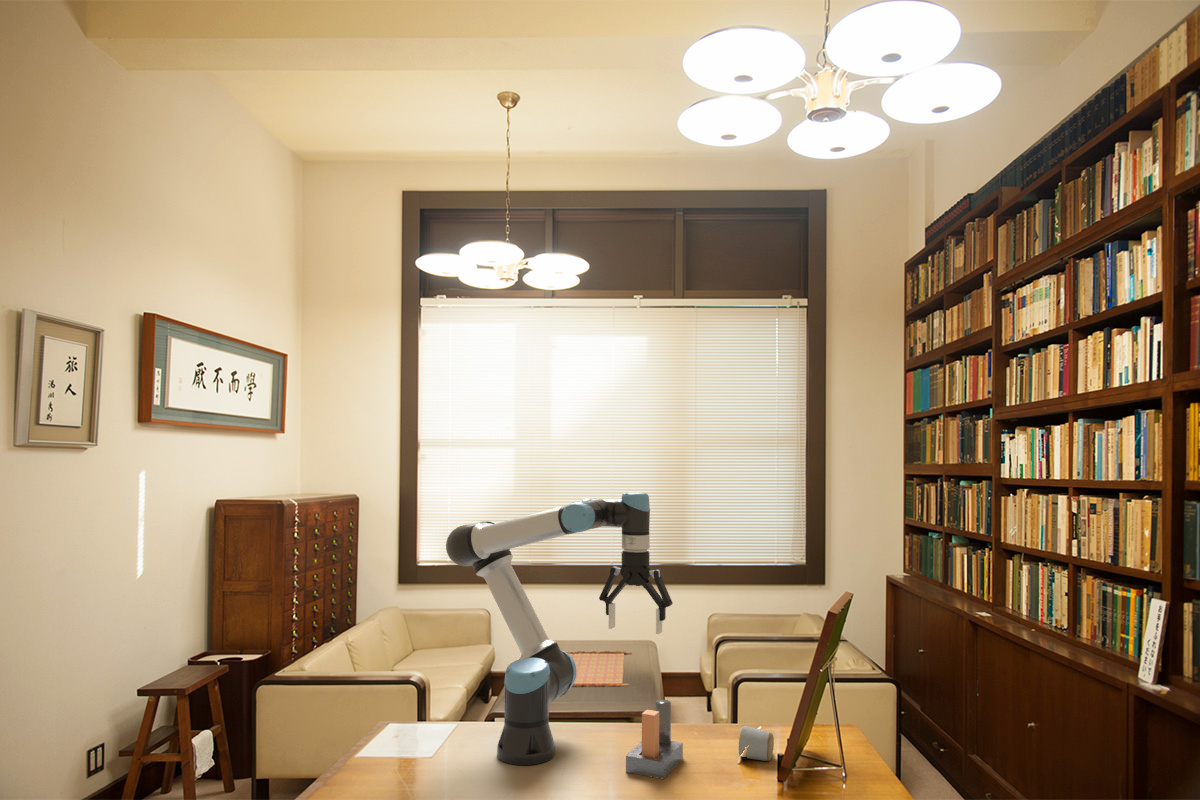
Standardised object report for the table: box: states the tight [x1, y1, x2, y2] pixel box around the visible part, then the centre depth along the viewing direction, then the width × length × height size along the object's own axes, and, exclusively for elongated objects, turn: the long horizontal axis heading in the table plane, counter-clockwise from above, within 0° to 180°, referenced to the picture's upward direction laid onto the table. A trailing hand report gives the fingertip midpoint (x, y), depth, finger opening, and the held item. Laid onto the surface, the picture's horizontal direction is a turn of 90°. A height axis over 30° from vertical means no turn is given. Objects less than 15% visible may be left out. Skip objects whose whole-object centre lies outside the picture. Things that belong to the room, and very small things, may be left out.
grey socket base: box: [625, 699, 684, 780], centre depth 202 cm, size 10×15×14 cm, turn 156°
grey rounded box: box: [738, 725, 775, 762], centre depth 208 cm, size 11×8×8 cm
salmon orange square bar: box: [641, 709, 659, 758], centre depth 199 cm, size 3×3×14 cm
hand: (635, 630), depth 212 cm, fingers open, 13 cm apart
